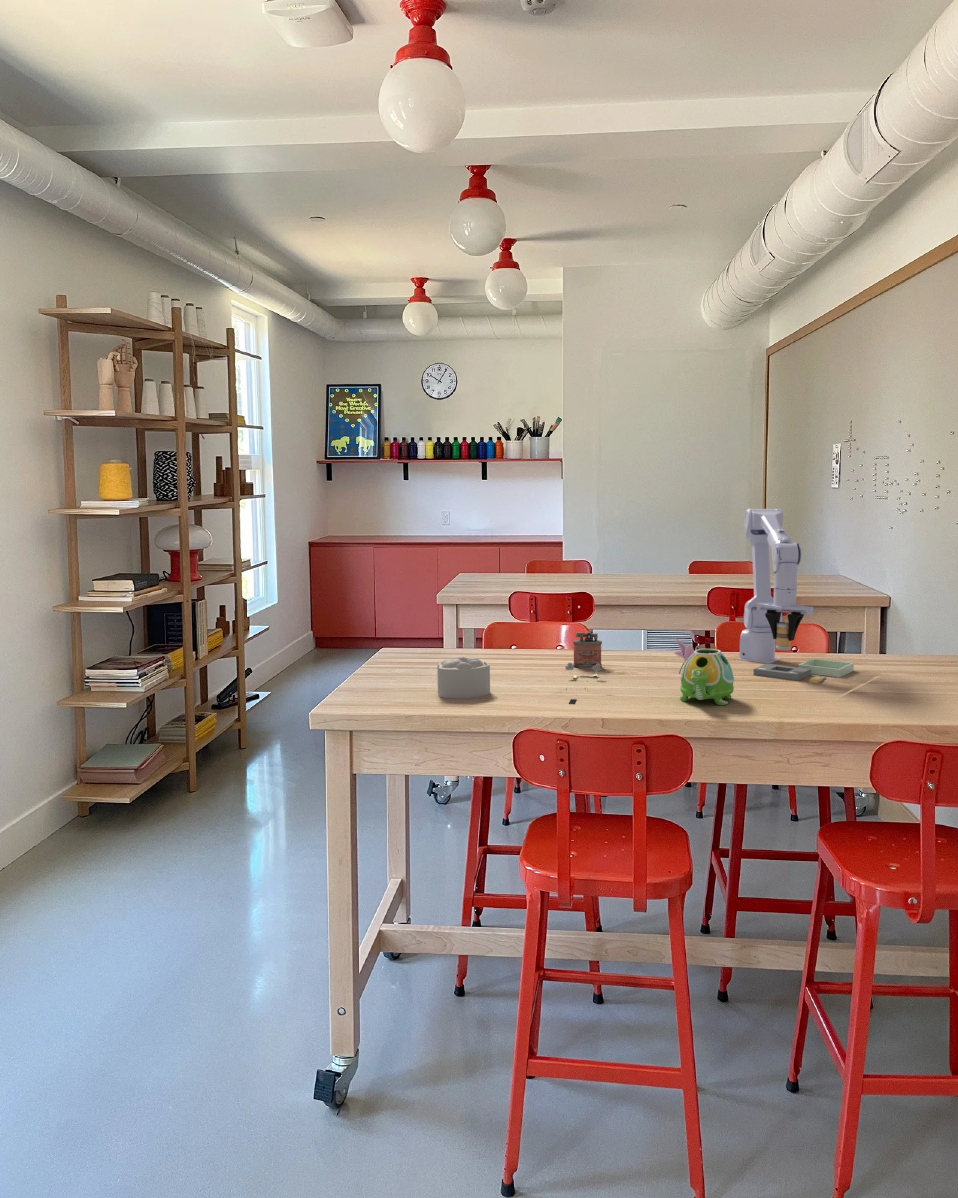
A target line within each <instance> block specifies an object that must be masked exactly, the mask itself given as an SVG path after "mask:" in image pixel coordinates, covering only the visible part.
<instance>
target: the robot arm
mask: <svg viewBox="0 0 958 1198" xmlns="http://www.w3.org/2000/svg"><path fill="white" fill-rule="evenodd" d="M743 523H744V529H743V530H744V535H745V539H746V540H749V541H750V545H751V553H752V554H751V555H752V557H751V558H752V578H753V580H752V581H753V583H752V584H753V597H751V599H749V600H747V601H746V602H745V604H744V611H743V612H744V613H743V624H744V627H745V629H742V631H741V633H740V636H739V637H740V638H739V658H737V660H738V661H745V662H755V663H760V664H761V663H762V664H772V663H775V662H776V661H779V660H781V658H778V657H776V634H777V622H783V613H788V614H787V622H789V636H788V638H789V641H791V642H793V641H795V638H796V633H797V632H798V631H797V630H798V627H799V625H800V623H801V621H802V620H803V618H804V616H805V615H806V616H811V615H814V606H809V605H808V606H806V605H800V604H797V591H798V590H797V589H798V565H800V564H801V561H802V560H801V559H802V548H801V544H800V543H799V542H795V541H793V540H792V538H791V536H790V534H789V532H788V531H787V530H786V529H784V528H782V527H783V523H784V513H783V510H781V508H780V507H778V508H750V507H749V508H747V509H746V510H745V512H744V518H743ZM770 550H771V561H772V571H773V572H774V574H773V575H774V577H773V596H772V590H771V589H772V587H771V568H770Z"/></svg>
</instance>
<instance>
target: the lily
mask: <svg viewBox="0 0 958 1198" xmlns="http://www.w3.org/2000/svg"><path fill="white" fill-rule="evenodd" d="M674 640H675V642H676V644H677V645H678V647H679V649H680V650H679V651H675V652H674V654H675V655H676V656H678V657H680V658H682V659H683V660H684V661H683V663H682V664H681V667H680V669H679V672H678V674H681V673H682V670H683V667H684V665H685V663H686V661H687V660H688V658H689V657H690V656H691V655H693V654H694V651H695V650H694V647H693V646H692V644H687V646H686V644H685V643H684V642H682V641H681V640H679V639H678V638H674Z"/></svg>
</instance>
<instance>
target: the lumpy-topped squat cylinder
mask: <svg viewBox="0 0 958 1198" xmlns="http://www.w3.org/2000/svg"><path fill="white" fill-rule="evenodd" d="M436 667H437V673H436V674H437V693H438V697H439V698H443V699H471V698H479V697H484V696H487V695H489V694H491V665H490V664H489V663H487V662H486V661H484V662H483V661H482V660H480V659H479V658H476V657H470V658H467V657H466V656H462V655H461V656H457V657H456V658H445V659H444V660H442V661H441V662H439V663H437V666H436Z"/></svg>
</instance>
